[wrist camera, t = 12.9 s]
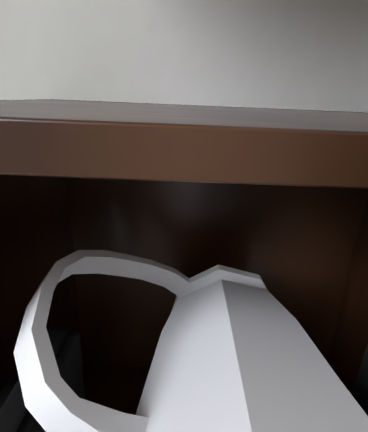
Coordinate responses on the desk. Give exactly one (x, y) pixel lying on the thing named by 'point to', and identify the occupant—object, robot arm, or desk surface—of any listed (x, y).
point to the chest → (181, 222)
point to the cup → (194, 360)
